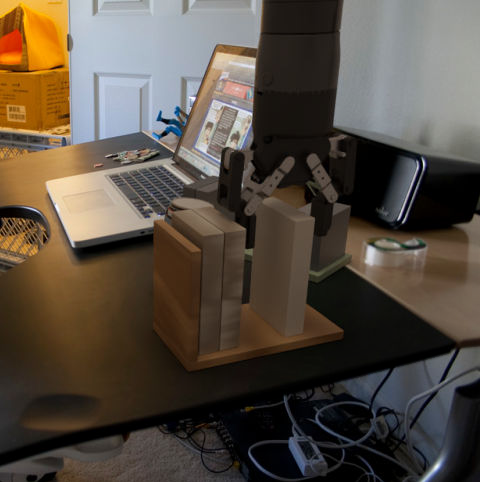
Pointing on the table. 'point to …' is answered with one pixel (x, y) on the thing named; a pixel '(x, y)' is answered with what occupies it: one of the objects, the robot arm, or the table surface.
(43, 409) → the table surface
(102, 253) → the table surface
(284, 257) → the brown tall flat block
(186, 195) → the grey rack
